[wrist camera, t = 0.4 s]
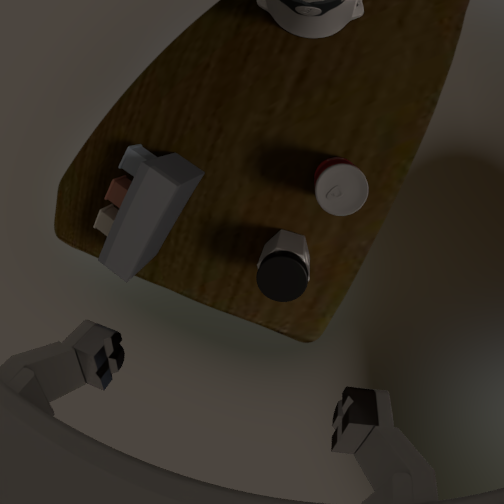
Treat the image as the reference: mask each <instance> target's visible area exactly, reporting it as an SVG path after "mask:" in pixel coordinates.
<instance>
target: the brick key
mask: <svg viewBox="0 0 504 504" xmlns="http://www.w3.org/2000/svg"><path fill="white" fill-rule="evenodd" d="M126 177H127V176H126V175H123V176H121V177H118V178H115V179H113V180H112V182H111V184H110V187H109V189H108V191H107V194H106V196H105V198H104V199H105V200H109V201H111V202H112V203H113V204H114V205H116V206H117V207H118V208H120V206H121V204H122V202H123V200H124V197H125V195H126V193H127V191H128V189H129V187H130V185H131V183H132V181H131V180H129V179H128V178H126Z"/></svg>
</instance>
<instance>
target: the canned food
mask: <svg viewBox="0 0 504 504" xmlns="http://www.w3.org/2000/svg"><path fill="white" fill-rule="evenodd" d="M314 187H315V195H316V199H317V201H318V203H319V205H320V206H321V207H322V208H323V209H324V210H325V211H326V212H328V213H330V214H333V215H337V216H346V215H350V214H352V213H354V212H356V211H357V210H359V209H360V208H361V207H362V206H363V204H364V203H365V201H366V199H367V196H368V183H367V180H366V177H365V175H364V174H363V173H362V171H361V170H360V169H358V168H357V167H356V166H355V165H354V164H353V163H351V162H350V161H349V160H347V159H344V158H341V157H332V158H329V159H327V160H325V161H323V162H322V163H321V164H320V165H319V166H318V168H317V169H316V171H315V175H314Z"/></svg>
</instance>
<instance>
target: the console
mask: <svg viewBox="0 0 504 504" xmlns="http://www.w3.org/2000/svg"><path fill="white" fill-rule="evenodd" d="M204 173H205V172H203V171H202V170H200V169H199V168H198V167H196V166H195V165H193V164H192V163H190V162H189V161H187V160H186V159H184V158H183V157H181V156H180V155H178V154H177V153H172V154H168V155H164V156H160V157H157V158H153V159H149V160H146V161H142V162H141V164H140V166H139V168H138V170H137V172H136V174H135V176H134V178H133V181H132V183H131V185H130V187H129V189H128V191H127V193H126V195H125V197H124V200H123V202H122V204H121V206H120V208H119V211H118V213H117V215H116V217H115V220H114V222H113V224H112V227H111V229H110V231H109V234H108V236H107V239H106V241H105V244H104V246H103V249H102V251H101V254H100V256H99V259H98V261H100V262H101V263H102V264H103V265H105V266H106V267H107V268H109V269H110V270H111V271H112V272H114V273H115V274H116V275H118V276H119V277H120V278H121V279H123V280H124V281H125V282H128V281H129V280H130V279H131V278H132V277H133V276H134V275H135V274H136V273H137V272H138V271H139V270H141V269H142V268H143V267H144V266H145V265H146V264H147V263H148V262H149V261H150V260H151V259H152V258H153V257H154V256H155V255H157V253H158V251H159V249H160V248H161V246H162V244H163V242H164V240H165V239H166V237H167V235H168V233H169V232H170V230H171V228H172V226H173V225H174V223H175V221H176V220H177V218H178V216H179V214H180V213H181V211H182V209H183V208H184V206H185V204H186V203H187V201H188V199H189V198H190V196H191V194H192V193H193V191H194V189H195V188H196V186H197V185H198V183H199V181H200V180H201V178H202V176H203V175H204Z"/></svg>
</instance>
